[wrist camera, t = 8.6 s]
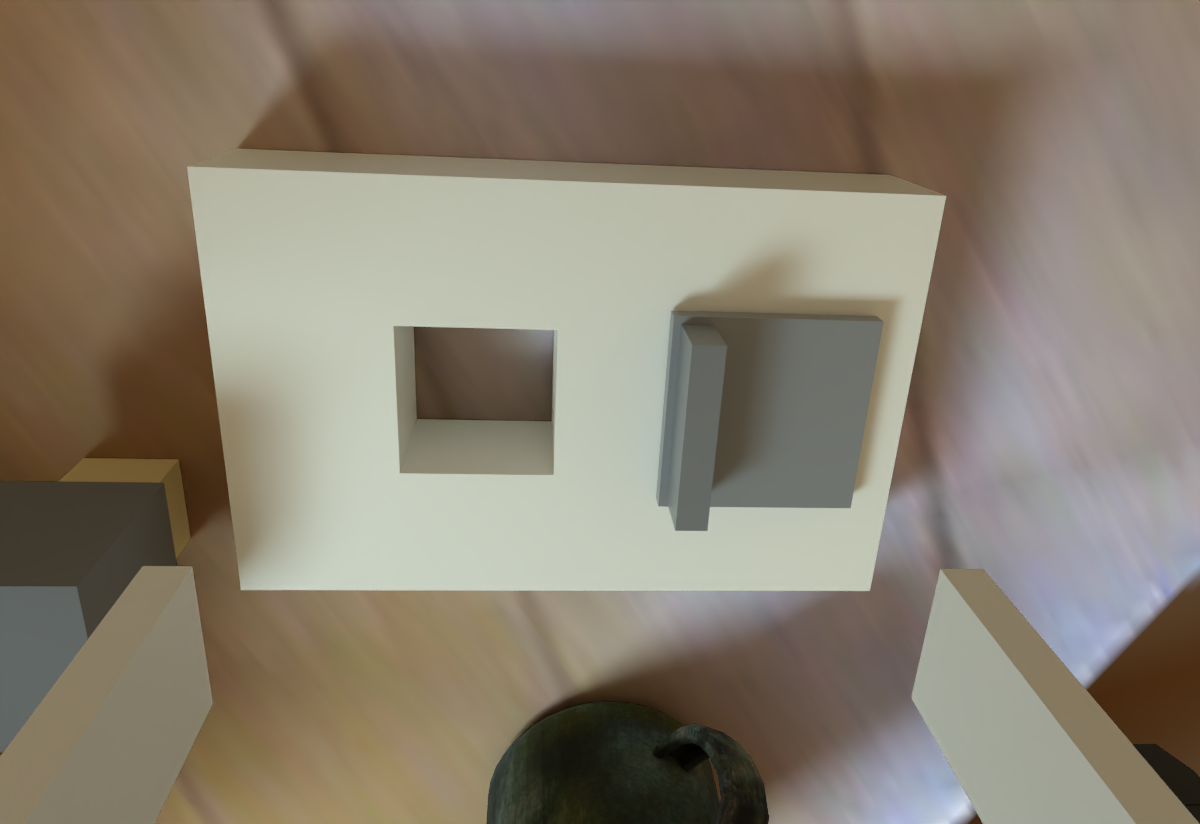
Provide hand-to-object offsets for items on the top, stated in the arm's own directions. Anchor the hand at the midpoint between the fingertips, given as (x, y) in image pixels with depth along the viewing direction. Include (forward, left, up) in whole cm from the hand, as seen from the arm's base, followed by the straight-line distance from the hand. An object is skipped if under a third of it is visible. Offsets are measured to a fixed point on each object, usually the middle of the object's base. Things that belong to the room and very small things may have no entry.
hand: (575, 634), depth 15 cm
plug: (-16, -8, -18) cm, 25 cm away
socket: (0, -2, -18) cm, 18 cm away
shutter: (+7, -1, -14) cm, 15 cm away
